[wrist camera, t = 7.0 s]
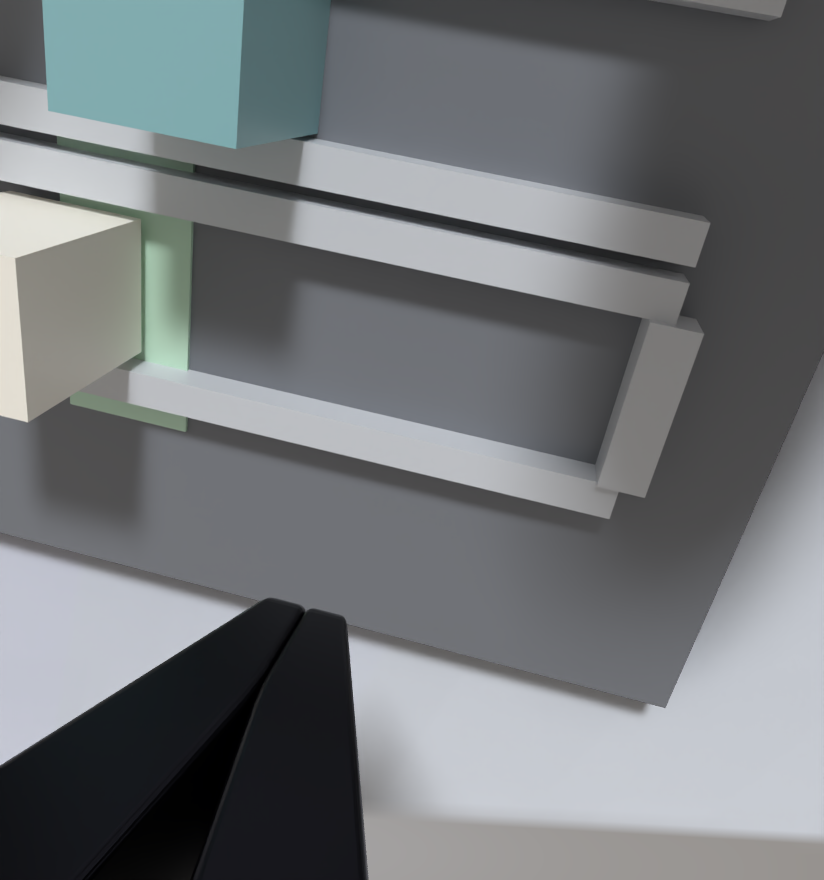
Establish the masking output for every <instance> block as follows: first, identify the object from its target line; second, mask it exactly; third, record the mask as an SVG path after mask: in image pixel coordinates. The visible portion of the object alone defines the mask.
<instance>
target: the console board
mask: <svg viewBox="0 0 824 880" xmlns="http://www.w3.org/2000/svg"><path fill="white" fill-rule="evenodd" d="M5 191H14V192H19V193H23V194H28V195H33V196H37V197H42V198H47V199H51V200H56V201H61V202H65V203H70V204H74V205H79V206H84V207H88V208H93V209H98V210H102V211H107V212H112V213H116V214H121V215H126V216H130V217H135V218H139V219H141V352H140V353H139V354H137V355H136V356H134V357H132V358H131V359H129V360H128V361H126V362H124V363H123V364H121V365H120V366H118V367H116V368H115V369H113V370H111V371H110V372H108V373H107V374H105V375H103V376H102V377H100V378H99V379H97V380H95V381H94V382H92V383H91V384H89V385H87V386H86V387H84V388H83V389H81V390H79V391H78V392H76V393H75V394H73V395H71V396H70V397H68V398H67V399H65V400H63V401H62V402H60V403H59V404H57V405H55V406H54V407H52V408H50V409H49V410H47V411H46V412H44V413H42V414H41V415H39V416H38V417H36V418H34V419H33V420H31V421H30V422H24V421H20V420H16V419H12V418H8V417H4V416H0V533H4V534H8V535H11V536H15V537H19V538H23V539H27V540H30V541H34V542H38V543H42V544H45V545H49V546H53V547H57V548H61V549H64V550H68V551H72V552H76V553H80V554H83V555H87V556H91V557H95V558H99V559H102V560H106V561H110V562H114V563H117V564H121V565H125V566H129V567H133V568H136V569H140V570H144V571H148V572H152V573H155V574H159V575H163V576H167V577H171V578H174V579H178V580H182V581H186V582H189V583H193V584H197V585H201V586H205V587H208V588H212V589H216V590H220V591H224V592H227V593H231V594H235V595H239V596H243V597H246V598H250V599H254V600H258V601H262V600H263V599H266V598H277V599H281V600H285V601H288V602H292V603H296V604H300V605H302V606H303V607H304V608H305V610H306V611H307V610H308V609H311V608H316V609H319V610H323V611H327V612H331V613H335V614H339V615H342V616H343V617H344V618H345V619H346V622H347V624H349V625H352V626H356V627H360V628H364V629H368V630H371V631H375V632H379V633H383V634H387V635H390V636H394V637H398V638H402V639H405V640H409V641H413V642H417V643H421V644H424V645H428V646H432V647H436V648H440V649H443V650H447V651H451V652H455V653H459V654H462V655H466V656H470V657H474V658H477V659H481V660H485V661H489V662H493V663H496V664H500V665H504V666H508V667H512V668H515V669H519V670H523V671H527V672H530V673H534V674H538V675H542V676H546V677H549V678H553V679H557V680H561V681H565V682H568V683H572V684H576V685H580V686H584V687H587V688H591V689H595V690H599V691H602V692H606V693H610V694H614V695H618V696H621V697H625V698H629V699H633V700H637V701H640V702H644V703H648V704H652V705H656V706H659V707H663V708H665V707H666V705H667V703H668V701H669V698H670V696H671V694H672V692H673V689H674V687H675V685H676V683H677V680H678V678H679V676H680V674H681V671H682V669H683V667H684V665H685V662H686V660H687V658H688V656H689V653H690V651H691V649H692V647H693V644H694V642H695V640H696V638H697V635H698V633H699V631H700V629H701V626H702V624H703V622H704V620H705V617H706V615H707V613H708V611H709V609H710V606H711V604H712V602H713V600H714V597H715V595H716V593H717V591H718V588H719V586H720V584H721V582H722V579H723V577H724V575H725V573H726V570H727V568H728V566H729V564H730V561H731V559H732V557H733V555H734V552H735V550H736V548H737V546H738V543H739V541H740V539H741V537H742V534H743V532H744V530H745V528H746V525H747V523H748V521H749V519H750V516H751V514H752V512H753V510H754V507H755V505H756V503H757V501H758V498H759V496H760V494H761V492H762V489H763V487H764V485H765V483H766V480H767V478H768V476H769V474H770V471H771V469H772V467H773V465H774V462H775V460H776V458H777V456H778V453H779V451H780V449H781V447H782V444H783V442H784V440H785V438H786V435H787V433H788V431H789V429H790V426H791V424H792V422H793V420H794V417H795V415H796V413H797V411H798V408H799V406H800V404H801V402H802V399H803V397H804V395H805V393H806V390H807V388H808V386H809V384H810V381H811V379H812V377H813V375H814V372H815V370H816V368H817V366H818V363H819V361H820V359H821V357H822V354H823V352H824V0H0V192H5Z"/></svg>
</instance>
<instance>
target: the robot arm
mask: <svg viewBox="0 0 824 880" xmlns="http://www.w3.org/2000/svg"><path fill="white" fill-rule="evenodd" d="M367 869H368V868H367V856H366V845H365V833H364V820H363V809H362V797H361V785H360V773H359V761H358V749H357V738H356V726H355V714H354V702H353V690H352V678H351V667H350V655H349V643H348V631H347V622H346V619H345V618H344V617H343V616H342V615H339V614H335V613H331V612H327V611H323V610H319V609H316V608H311V609H308V610H307V611H306V610H305V608H304V607H303V606H302V605H300V604H296V603H292V602H288V601H285V600H281V599H277V598H266V599H263V600H262V601H260V602H258V603H257V604H255V605H254V606H252V607H250V608H249V609H247V610H246V611H244V612H243V613H241V614H239V615H238V616H236V617H235V618H233V619H231V620H230V621H228V622H227V623H225V624H224V625H222V626H220V627H219V628H217V629H216V630H214V631H212V632H211V633H209V634H208V635H206V636H205V637H203V638H201V639H200V640H198V641H197V642H195V643H193V644H192V645H190V646H189V647H187V648H186V649H184V650H182V651H181V652H179V653H178V654H176V655H174V656H173V657H171V658H170V659H168V660H167V661H165V662H163V663H162V664H160V665H159V666H157V667H155V668H154V669H152V670H151V671H149V672H148V673H146V674H144V675H143V676H141V677H140V678H138V679H136V680H135V681H133V682H132V683H130V684H129V685H127V686H125V687H124V688H122V689H121V690H119V691H117V692H116V693H114V694H113V695H111V696H110V697H108V698H106V699H105V700H103V701H102V702H100V703H98V704H97V705H95V706H94V707H92V708H91V709H89V710H87V711H86V712H84V713H83V714H81V715H79V716H78V717H76V718H75V719H73V720H72V721H70V722H68V723H67V724H65V725H64V726H62V727H60V728H59V729H57V730H56V731H54V732H53V733H51V734H49V735H48V736H46V737H45V738H43V739H41V740H40V741H38V742H37V743H35V744H34V745H32V746H30V747H29V748H27V749H26V750H24V751H22V752H21V753H19V754H18V755H16V756H15V757H13V758H11V759H10V760H8V761H7V762H5V763H3V764H2V765H0V880H368V870H367Z"/></svg>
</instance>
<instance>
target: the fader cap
mask: <svg viewBox="0 0 824 880" xmlns="http://www.w3.org/2000/svg"><path fill="white" fill-rule="evenodd" d="M140 352H141V219H139V218H135V217H130V216H126V215H121V214H116V213H112V212H107V211H102V210H98V209H93V208H88V207H84V206H79V205H74V204H70V203H65V202H61V201H56V200H51V199H47V198H42V197H37V196H33V195H28V194H23V193H19V192H14V191H5V192H0V416H4V417H8V418H12V419H16V420H20V421H24V422H30V421H31V420H33V419H34V418H36V417H38V416H39V415H41V414H42V413H44V412H46V411H47V410H49V409H50V408H52V407H54V406H55V405H57V404H59V403H60V402H62V401H63V400H65V399H67V398H68V397H70V396H71V395H73V394H75V393H76V392H78V391H79V390H81V389H83V388H84V387H86V386H87V385H89V384H91V383H92V382H94V381H95V380H97V379H99V378H100V377H102V376H103V375H105V374H107V373H108V372H110V371H111V370H113V369H115V368H116V367H118V366H120V365H121V364H123V363H124V362H126V361H128V360H129V359H131V358H132V357H134V356H136V355H137V354H139V353H140Z"/></svg>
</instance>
